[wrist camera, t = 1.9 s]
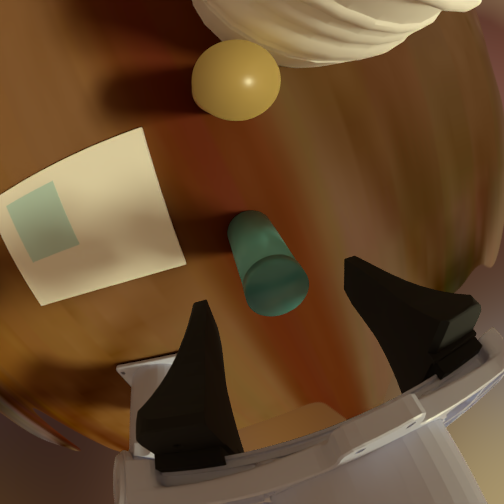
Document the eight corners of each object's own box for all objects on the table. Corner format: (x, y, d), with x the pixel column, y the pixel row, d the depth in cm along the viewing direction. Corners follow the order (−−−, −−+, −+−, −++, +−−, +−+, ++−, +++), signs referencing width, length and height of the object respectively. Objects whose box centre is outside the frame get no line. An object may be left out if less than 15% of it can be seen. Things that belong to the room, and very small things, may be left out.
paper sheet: (186, 262, 20) (186, 264, 20) (42, 303, 19) (41, 306, 19) (142, 126, 15) (141, 127, 14) (-11, 202, 14) (-13, 203, 13)
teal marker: (275, 244, 21) (310, 305, 15) (232, 256, 21) (252, 323, 15) (268, 204, 19) (306, 256, 13) (221, 216, 19) (239, 275, 13)
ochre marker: (250, 108, 16) (287, 112, 10) (197, 120, 15) (202, 129, 10) (239, 60, 14) (271, 34, 8) (185, 71, 14) (183, 49, 8)
